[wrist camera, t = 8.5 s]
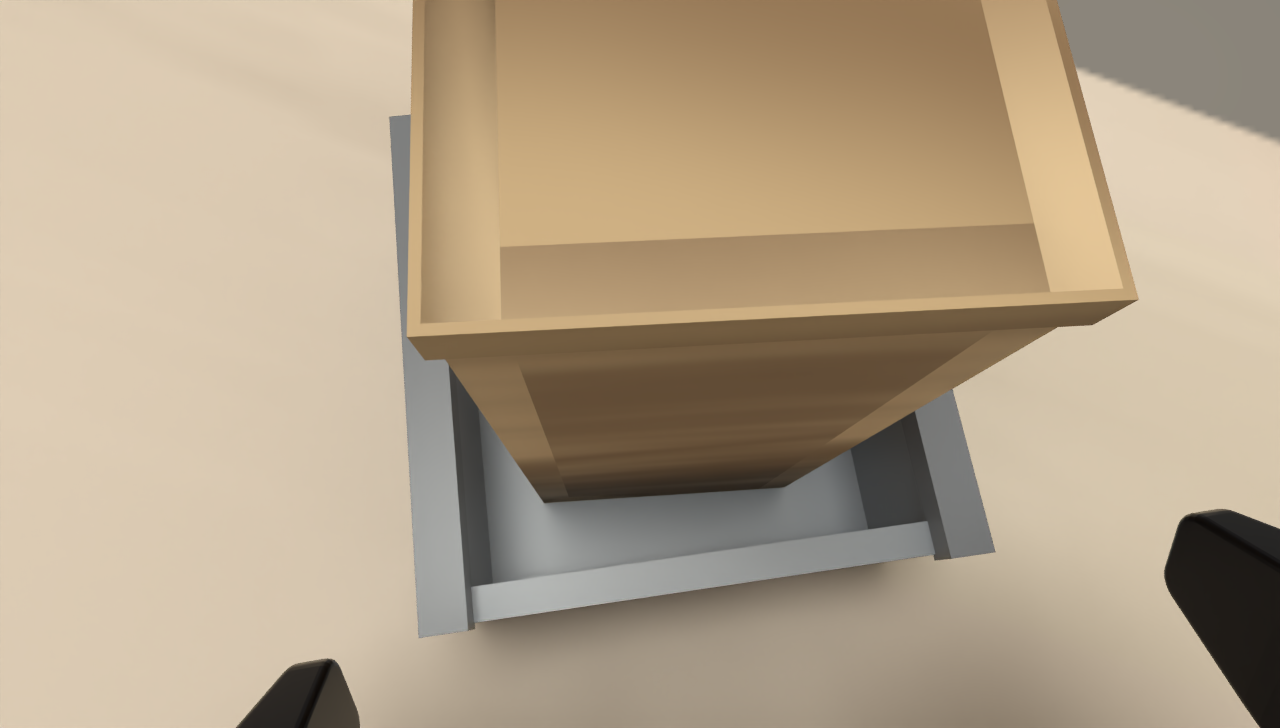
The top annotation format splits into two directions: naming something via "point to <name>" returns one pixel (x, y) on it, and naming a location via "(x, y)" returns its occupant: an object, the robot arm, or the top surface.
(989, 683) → the top surface
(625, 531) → the large crate
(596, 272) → the small crate
